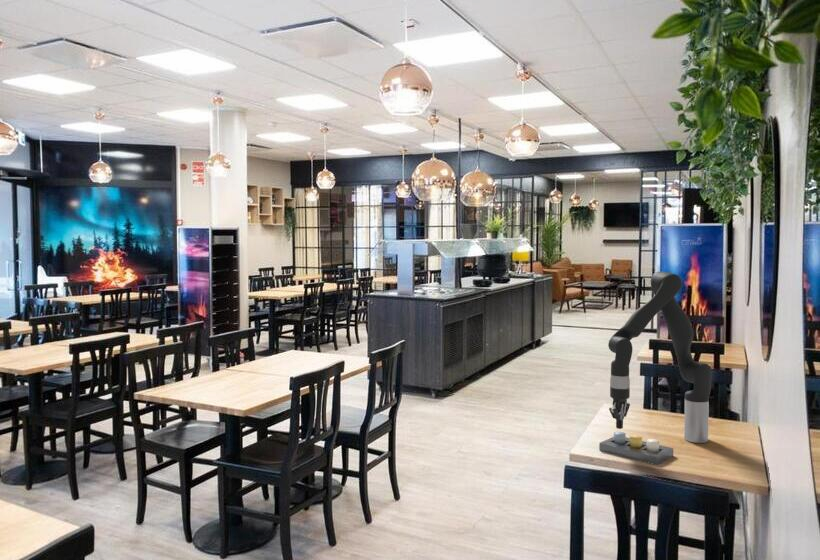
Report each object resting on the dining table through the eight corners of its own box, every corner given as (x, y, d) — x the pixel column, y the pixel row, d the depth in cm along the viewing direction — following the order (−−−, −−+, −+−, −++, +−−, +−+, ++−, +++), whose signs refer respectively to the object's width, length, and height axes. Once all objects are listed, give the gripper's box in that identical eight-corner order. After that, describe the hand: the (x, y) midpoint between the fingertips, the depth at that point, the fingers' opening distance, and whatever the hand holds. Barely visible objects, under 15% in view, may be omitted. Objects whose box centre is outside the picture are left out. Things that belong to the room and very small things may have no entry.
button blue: (617, 440, 261) (617, 430, 261) (627, 443, 258) (627, 433, 258) (611, 443, 258) (611, 433, 258) (622, 446, 255) (622, 435, 255)
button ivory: (649, 448, 251) (649, 438, 251) (661, 451, 248) (661, 440, 248) (644, 451, 248) (644, 440, 248) (655, 454, 245) (655, 443, 244)
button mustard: (633, 444, 256) (633, 434, 256) (644, 447, 253) (644, 436, 253) (627, 447, 253) (627, 437, 253) (638, 450, 250) (638, 439, 250)
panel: (616, 442, 267) (616, 435, 266) (673, 455, 249) (673, 448, 249) (599, 450, 257) (599, 442, 257) (656, 464, 240) (656, 457, 239)
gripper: (620, 390, 249) (619, 433, 250) (636, 384, 258) (636, 426, 259) (602, 387, 255) (602, 429, 256) (619, 381, 264) (619, 423, 265)
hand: (619, 428), depth 258 cm, fingers closed
